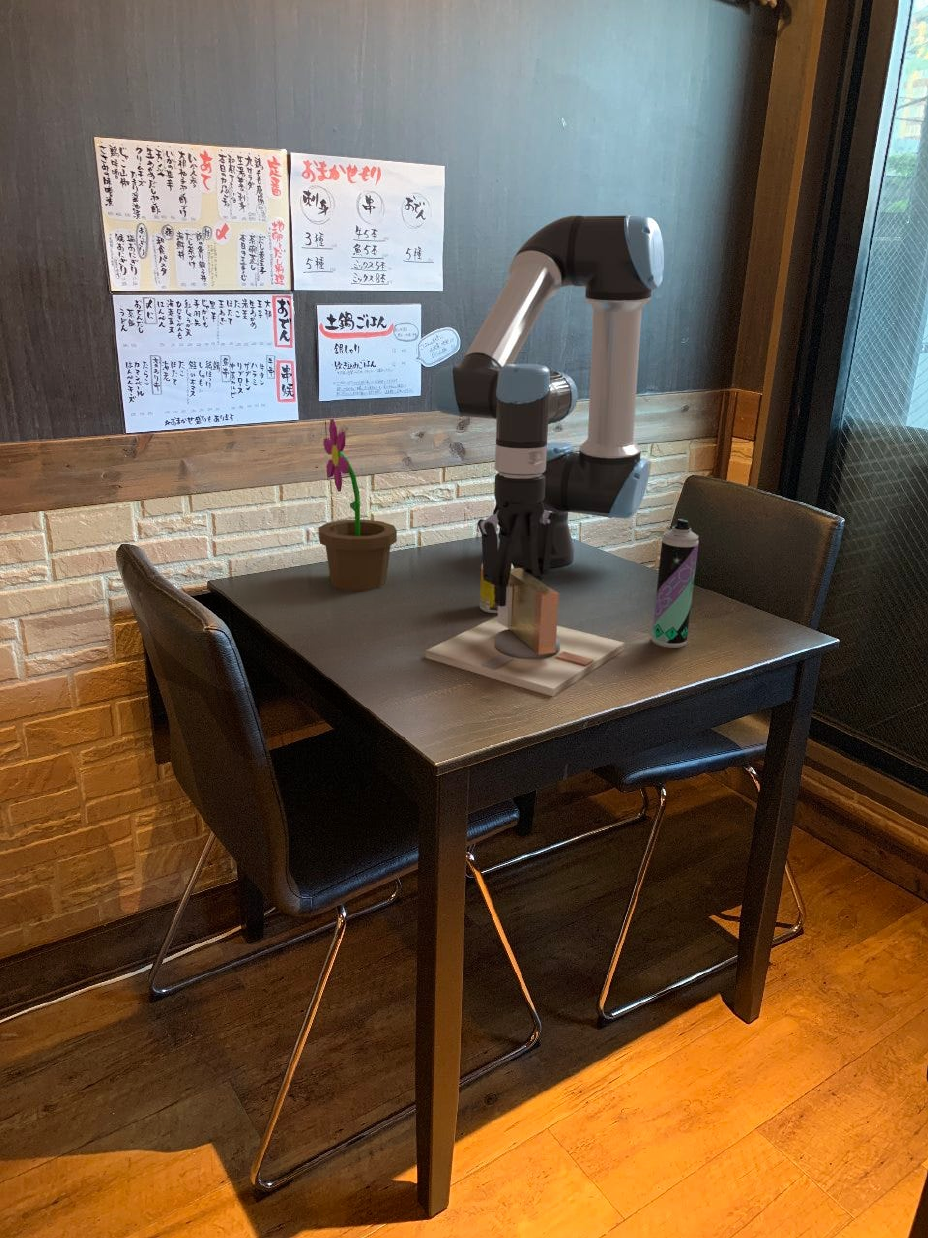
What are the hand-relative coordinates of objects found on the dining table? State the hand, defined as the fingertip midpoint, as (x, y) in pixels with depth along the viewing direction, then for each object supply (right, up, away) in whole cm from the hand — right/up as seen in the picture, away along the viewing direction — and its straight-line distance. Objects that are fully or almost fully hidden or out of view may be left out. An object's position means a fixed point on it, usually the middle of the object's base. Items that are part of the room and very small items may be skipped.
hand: (514, 621), depth 145 cm
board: (+2, -5, -3) cm, 6 cm away
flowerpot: (-28, +7, +28) cm, 40 cm away
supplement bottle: (-3, +2, +16) cm, 16 cm away
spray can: (+25, -3, +4) cm, 25 cm away
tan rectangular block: (+2, -3, -4) cm, 5 cm away
